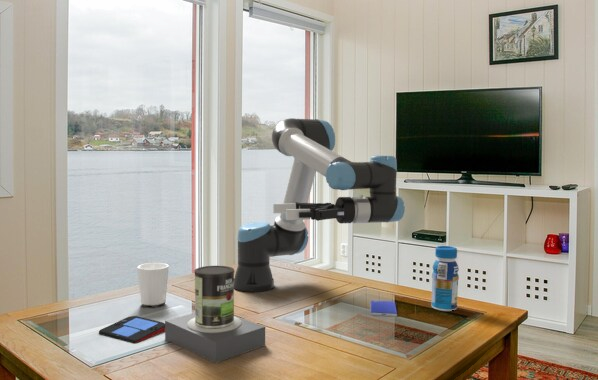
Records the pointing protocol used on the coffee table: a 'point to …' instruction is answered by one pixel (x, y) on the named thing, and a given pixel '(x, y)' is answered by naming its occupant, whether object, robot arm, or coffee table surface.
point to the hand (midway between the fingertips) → (279, 211)
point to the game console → (133, 329)
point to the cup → (153, 283)
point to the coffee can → (214, 297)
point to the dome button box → (215, 337)
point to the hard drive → (383, 308)
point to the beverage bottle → (445, 279)
